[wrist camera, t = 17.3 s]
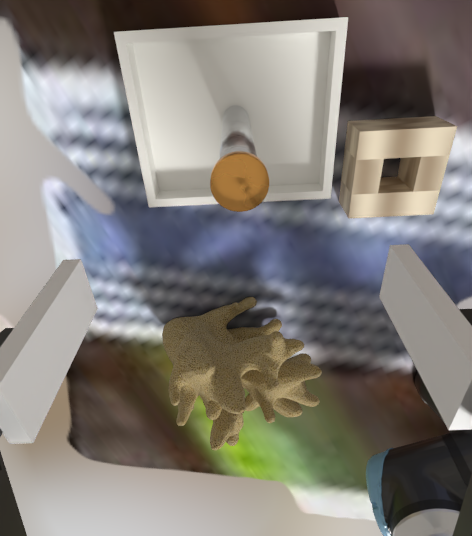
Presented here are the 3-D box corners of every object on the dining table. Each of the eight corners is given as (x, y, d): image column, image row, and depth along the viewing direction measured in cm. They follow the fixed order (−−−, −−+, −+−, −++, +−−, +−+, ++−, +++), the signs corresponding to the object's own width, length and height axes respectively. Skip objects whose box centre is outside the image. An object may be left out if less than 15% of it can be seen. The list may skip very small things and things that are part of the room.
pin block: (435, 116, 42) (457, 126, 38) (416, 197, 48) (433, 214, 44) (347, 120, 42) (359, 131, 38) (338, 201, 48) (348, 218, 44)
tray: (339, 17, 37) (348, 17, 34) (324, 187, 47) (330, 198, 44) (123, 31, 38) (113, 31, 35) (154, 195, 48) (148, 207, 45)
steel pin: (252, 99, 40) (269, 153, 24) (253, 136, 43) (269, 210, 26) (216, 101, 40) (207, 156, 24) (219, 138, 43) (212, 213, 26)
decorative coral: (94, 312, 43) (262, 466, 33) (219, 225, 55) (370, 318, 45) (129, 401, 62) (242, 517, 52) (216, 322, 74) (323, 403, 64)
